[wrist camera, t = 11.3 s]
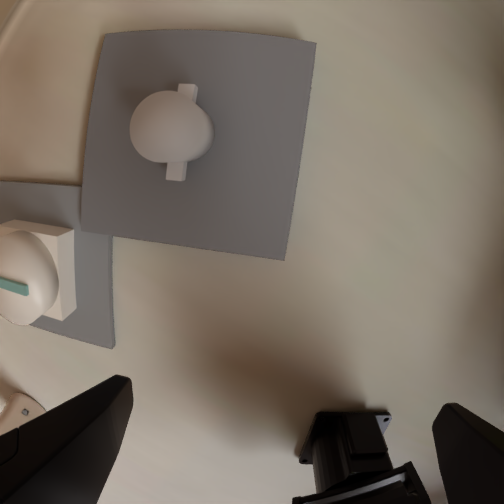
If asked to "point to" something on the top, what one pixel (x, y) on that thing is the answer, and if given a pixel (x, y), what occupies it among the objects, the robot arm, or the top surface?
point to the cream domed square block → (36, 271)
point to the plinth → (239, 156)
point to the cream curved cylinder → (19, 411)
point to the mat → (85, 257)
